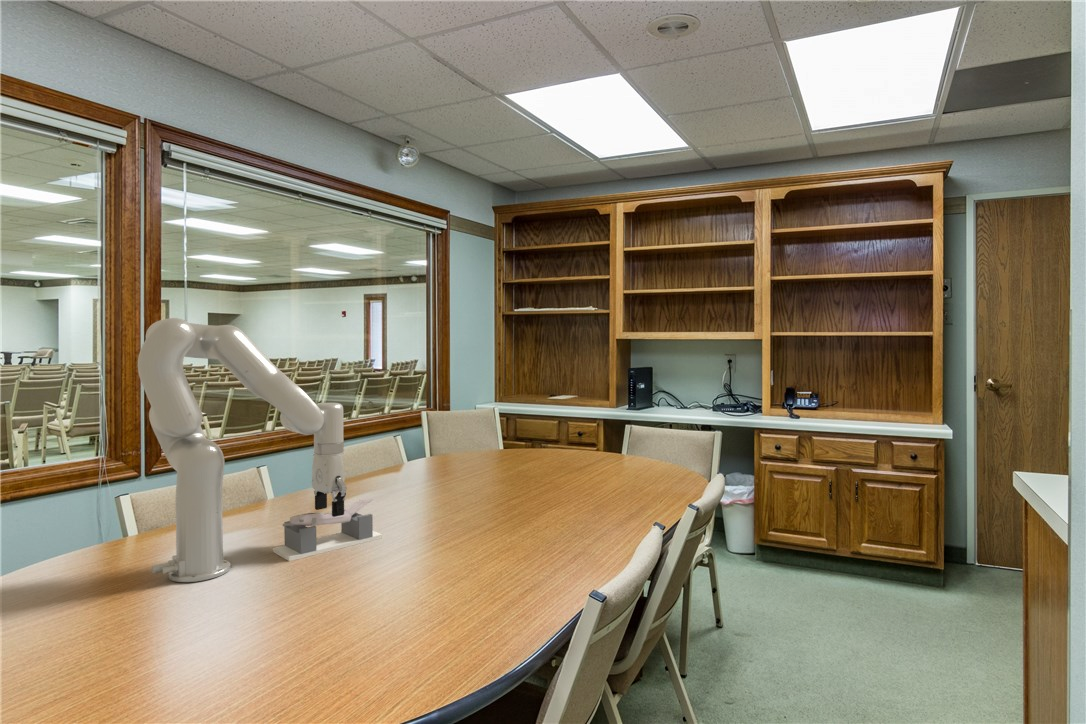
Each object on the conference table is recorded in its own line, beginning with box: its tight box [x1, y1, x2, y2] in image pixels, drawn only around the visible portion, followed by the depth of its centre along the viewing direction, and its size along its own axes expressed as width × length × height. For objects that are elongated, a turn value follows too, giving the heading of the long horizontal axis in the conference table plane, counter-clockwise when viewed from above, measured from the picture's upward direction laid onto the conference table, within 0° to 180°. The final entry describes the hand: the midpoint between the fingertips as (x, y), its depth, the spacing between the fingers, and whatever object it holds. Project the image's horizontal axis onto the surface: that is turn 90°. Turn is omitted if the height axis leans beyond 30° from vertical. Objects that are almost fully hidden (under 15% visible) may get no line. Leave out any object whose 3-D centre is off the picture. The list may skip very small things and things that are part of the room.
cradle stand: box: [272, 509, 383, 562], centre depth 163 cm, size 26×10×7 cm, turn 136°
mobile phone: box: [282, 498, 374, 527], centre depth 164 cm, size 6×6×25 cm
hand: (329, 512), depth 163 cm, fingers open, 9 cm apart
